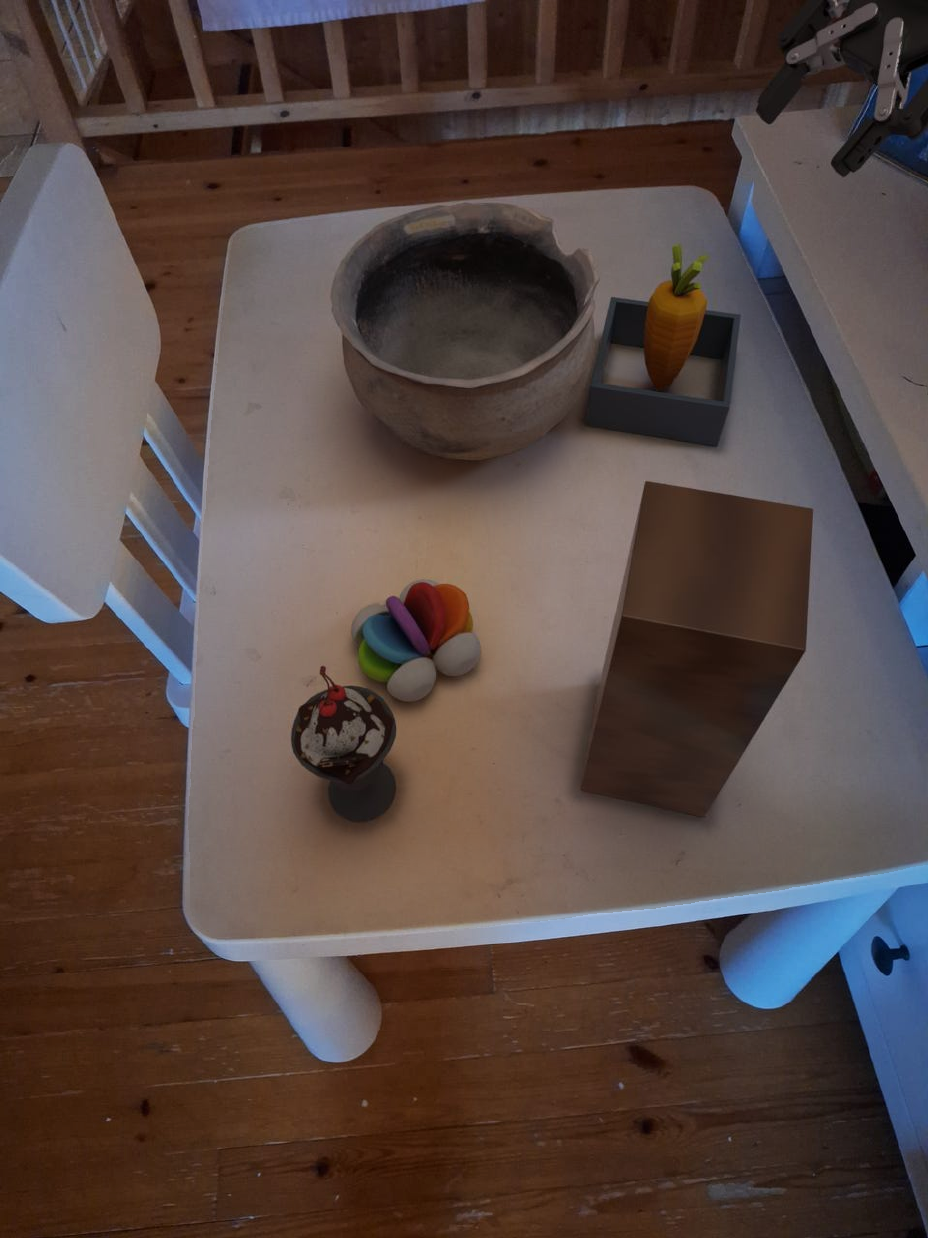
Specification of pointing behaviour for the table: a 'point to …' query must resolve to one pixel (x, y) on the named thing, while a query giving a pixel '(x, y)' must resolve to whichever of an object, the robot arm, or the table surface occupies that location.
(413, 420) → the ceramic bowl
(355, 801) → the sundae
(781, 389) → the table surface
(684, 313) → the carrot
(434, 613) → the rainbow cloud toy
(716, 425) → the square storage tray
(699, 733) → the block
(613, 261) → the table surface
